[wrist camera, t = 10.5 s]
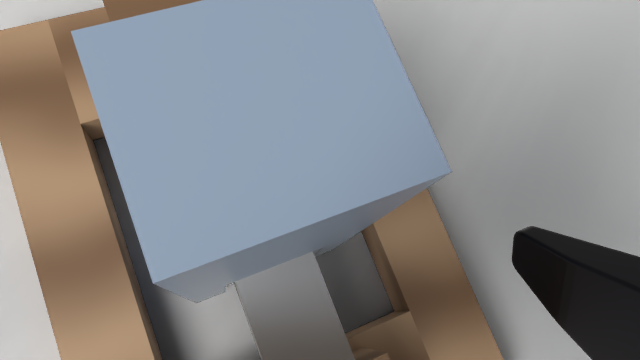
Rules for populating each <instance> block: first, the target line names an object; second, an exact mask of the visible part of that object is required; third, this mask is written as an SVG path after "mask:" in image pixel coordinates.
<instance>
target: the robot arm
mask: <svg viewBox="0 0 640 360" xmlns="http://www.w3.org/2000/svg"><path fill="white" fill-rule="evenodd" d="M512 262H513V265H514V267H515V269H516V270H517V272H518V273H519V274H520V276H521V277H522V278H523V279H524V281H525V282H526V283H527V285H528V286H529V287H530V289H531V290H532V291H533V292H534V294H535V295H536V296H537V298H538V299H539V300H540V301H541V303H542V304H543V305H544V307H545V308H546V309H547V310H548V312H549V313H550V314H551V315H552V317H553V318H554V319H555V320H556V321H557V323H558V324H559V325H560V326H561V327H562V328H563V329H564V330H565V331H566V333H567V334H568V335H569V336H570V337H571V338H572V339H573V340H574V341H575V342H576V343H577V344H578V345H579V346H580V347H581V348H582V349H583V350H584V352H585V353H586V354H587V355H588V356H589V357H590V358H591V359H592V360H640V257H638V256H634V255H631V254H628V253H624V252H621V251H617V250H614V249H610V248H607V247H603V246H600V245H597V244H593V243H590V242H586V241H583V240H579V239H576V238H572V237H569V236H566V235H562V234H559V233H555V232H552V231H548V230H545V229H541V228H538V227H534V226H530V227H527V228H524V229H522V230H520V231H517V232H516V233H515V235H514V240H513V251H512Z"/></svg>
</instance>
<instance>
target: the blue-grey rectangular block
mask: <svg viewBox="0 0 640 360" xmlns="http://www.w3.org/2000/svg"><path fill="white" fill-rule="evenodd" d="M71 34H72V37H73V40H74V43H75V46H76V49H77V52H78V55H79V58H80V62H81V65H82V68H83V71H84V74H85V77H86V80H87V83H88V86H89V89H90V92H91V95H92V98H93V101H94V104H95V108H96V111H97V114H98V117H99V120H100V123H101V126H102V129H103V132H104V135H105V138H106V141H107V144H108V147H109V150H110V154H111V157H112V160H113V163H114V166H115V169H116V172H117V175H118V178H119V181H120V184H121V187H122V190H123V193H124V196H125V200H126V203H127V206H128V209H129V212H130V215H131V218H132V221H133V224H134V227H135V230H136V233H137V236H138V239H139V242H140V246H141V249H142V252H143V255H144V258H145V261H146V264H147V267H148V270H149V273H150V276H151V279H152V282H153V284H155V285H157V286H159V287H162V288H164V289H166V290H168V291H171V292H173V293H175V294H177V295H179V296H182V297H184V298H186V299H188V300H191V301H193V302H195V303H198V302H201V301H203V300H206V299H208V298H211V297H213V296H216V295H219V294H221V293H224V292H225V285H228V284H230V283H233V282H236V281H238V280H241V279H243V278H246V277H248V276H251V275H254V274H256V273H259V272H261V271H264V270H266V269H269V268H272V267H274V266H277V265H279V264H282V263H284V262H287V261H290V260H292V259H295V258H297V257H300V256H302V255H305V254H308V253H310V252H313V253H314V255H315V256H318V255H320V254H323V253H325V252H328V251H331V250H333V249H335V248H336V247H338V246H339V245H341V244H342V243H344V242H345V241H347V240H348V239H350V238H351V237H353V236H354V235H356V234H357V233H359V232H361V231H362V230H364V229H365V228H367V227H368V226H370V225H371V224H373V223H374V222H376V221H377V220H379V219H380V218H382V217H383V216H385V215H387V214H388V213H390V212H391V211H393V210H394V209H396V208H397V207H399V206H400V205H402V204H403V203H405V202H406V201H408V200H409V199H411V198H412V197H414V196H416V195H417V194H419V193H420V192H422V191H423V190H425V189H426V188H428V187H429V186H431V185H432V184H434V183H435V182H437V181H438V180H440V179H442V178H443V177H445V176H446V175H448V174H449V173H451V172H452V171H451V169H450V167H449V164H448V162H447V160H446V158H445V156H444V154H443V152H442V149H441V147H440V145H439V143H438V141H437V139H436V136H435V134H434V132H433V130H432V128H431V126H430V123H429V121H428V119H427V117H426V115H425V113H424V110H423V108H422V106H421V104H420V102H419V100H418V97H417V95H416V93H415V91H414V89H413V87H412V84H411V82H410V80H409V78H408V76H407V74H406V71H405V69H404V67H403V65H402V63H401V61H400V59H399V56H398V54H397V52H396V50H395V48H394V46H393V43H392V41H391V39H390V37H389V35H388V33H387V30H386V28H385V26H384V24H383V22H382V20H381V17H380V15H379V13H378V11H377V9H376V7H375V4H374V2H373V0H202V1H197V2H193V3H189V4H185V5H180V6H176V7H172V8H168V9H163V10H159V11H155V12H150V13H146V14H142V15H138V16H133V17H129V18H125V19H121V20H116V21H112V22H108V23H103V24H99V25H95V26H91V27H86V28H82V29H78V30H74V31H71Z"/></svg>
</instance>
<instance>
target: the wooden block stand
mask: <svg viewBox="0 0 640 360" xmlns="http://www.w3.org/2000/svg"><path fill="white" fill-rule="evenodd" d="M197 1H202V0H103V3H104V6H105V7H103V8H98V9H94V10H89V11H85V12H80V13H76V14H71V15H67V16H62V17H58V18H54V19H49V20H45V21H40V22H36V23H31V24H27V25H22V26H18V27H13V28H9V29H4V30H0V142H1V145H2V149H3V153H4V156H5V160H6V163H7V167H8V170H9V174H10V178H11V181H12V185H13V188H14V192H15V196H16V199H17V203H18V206H19V210H20V214H21V217H22V221H23V224H24V228H25V231H26V235H27V239H28V242H29V246H30V249H31V253H32V257H33V260H34V264H35V267H36V271H37V275H38V278H39V282H40V285H41V289H42V292H43V296H44V300H45V303H46V307H47V310H48V314H49V318H50V321H51V325H52V328H53V332H54V336H55V339H56V343H57V346H58V350H59V354H60V357H61V360H163V359H162V356H161V353H160V350H159V347H158V344H157V340H156V337H155V334H154V331H153V328H152V325H151V321H150V318H149V315H148V312H147V309H146V306H145V303H144V299H143V296H142V293H141V290H140V287H139V284H138V280H137V277H136V274H135V271H134V268H133V265H132V261H131V258H130V255H129V252H128V249H127V246H126V243H125V239H124V236H123V233H122V230H121V227H120V224H119V220H118V217H117V214H116V211H115V208H114V205H113V202H112V198H111V195H110V192H109V189H108V186H107V183H106V179H105V176H104V173H103V170H102V167H101V164H100V161H99V157H98V154H97V151H96V148H95V145H94V142H93V140H96V139H99V138H103V137H105V135H104V132H103V129H102V126H101V123H100V120H99V117H98V114H97V111H96V108H95V104H94V101H93V98H92V95H91V92H90V89H89V86H88V83H87V80H86V77H85V74H84V71H83V68H82V65H81V62H80V58H79V55H78V52H77V49H76V46H75V43H74V40H73V37H72V34H71V31H74V30H78V29H82V28H86V27H91V26H95V25H99V24H103V23H108V22H112V21H116V20H121V19H125V18H129V17H133V16H138V15H142V14H146V13H150V12H155V11H159V10H163V9H168V8H172V7H176V6H180V5H185V4H189V3H193V2H197ZM362 234H363V236H364V239H365V241H366V243H367V246H368V248H369V251H370V253H371V256H372V258H373V260H374V263H375V265H376V268H377V270H378V272H379V275H380V277H381V280H382V282H383V285H384V287H385V289H386V292H387V294H388V297H389V299H390V302H391V304H392V306H393V309H394V311H395V312H393V313H390V314H388V315H386V316H384V317H381V318H379V319H377V320H374V321H372V322H370V323H368V324H365V325H363V326H361V327H359V328H356V329H354V330H352V331H349V332H347V333H345V332H344V330H343V327H342V325H341V322H340V319H339V317H338V314H337V312H336V309H335V307H334V304H333V301H332V299H331V296H330V294H329V291H328V289H327V286H326V283H325V281H324V278H323V276H322V273H321V271H320V268H319V266H318V263H317V260H316V258H315V255H314V253H313V252H310V253H308V254H305V255H302V256H300V257H297V258H295V259H292V260H290V261H287V262H284V263H282V264H279V265H277V266H274V267H272V268H269V269H266V270H264V271H261V272H259V273H256V274H254V275H251V276H248V277H246V278H243V279H241V280H238V281H236V282H234V284H235V287H236V289H237V292H238V295H239V298H240V301H241V304H242V306H243V309H244V312H245V315H246V318H247V321H248V323H249V326H250V329H251V332H252V335H253V337H254V340H255V343H256V346H257V349H258V352H259V354H260V357H261V360H504V359H503V357H502V355H501V352H500V350H499V348H498V346H497V344H496V341H495V339H494V337H493V335H492V332H491V330H490V328H489V326H488V323H487V321H486V319H485V317H484V314H483V312H482V310H481V308H480V305H479V303H478V301H477V299H476V296H475V294H474V292H473V290H472V287H471V285H470V283H469V281H468V279H467V276H466V274H465V272H464V270H463V267H462V265H461V263H460V261H459V258H458V256H457V254H456V252H455V249H454V247H453V245H452V243H451V240H450V238H449V236H448V234H447V231H446V229H445V227H444V225H443V223H442V220H441V218H440V216H439V214H438V211H437V209H436V207H435V205H434V202H433V200H432V198H431V196H430V193H429V191H428V189H427V188H426V189H425V190H423V191H422V192H420V193H419V194H417V195H416V196H414V197H412V198H411V199H409V200H408V201H406V202H405V203H403V204H402V205H400V206H399V207H397V208H396V209H394V210H393V211H391V212H390V213H388V214H387V215H385V216H383V217H382V218H380V219H379V220H377V221H376V222H374V223H373V224H371V225H370V226H368V227H367V228H365V229H364V230H362Z"/></svg>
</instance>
